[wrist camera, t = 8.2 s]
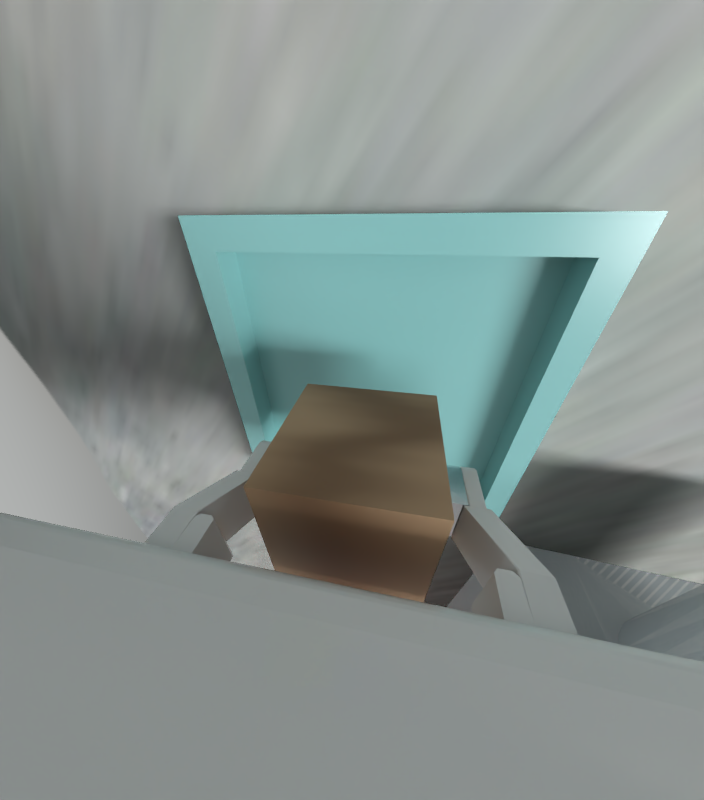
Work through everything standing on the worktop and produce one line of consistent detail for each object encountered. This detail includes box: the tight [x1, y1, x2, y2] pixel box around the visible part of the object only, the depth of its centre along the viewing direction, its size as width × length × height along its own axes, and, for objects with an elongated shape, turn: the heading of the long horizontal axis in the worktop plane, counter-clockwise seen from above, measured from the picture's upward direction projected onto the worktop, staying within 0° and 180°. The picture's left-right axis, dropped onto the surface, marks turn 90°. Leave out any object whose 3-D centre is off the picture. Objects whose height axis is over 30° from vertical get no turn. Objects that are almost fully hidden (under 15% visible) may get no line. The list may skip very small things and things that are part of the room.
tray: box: [178, 211, 668, 517], centre depth 14 cm, size 16×16×2 cm
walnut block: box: [244, 384, 454, 602], centre depth 10 cm, size 5×5×5 cm
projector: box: [447, 545, 704, 662], centre depth 19 cm, size 35×19×15 cm, turn 175°
